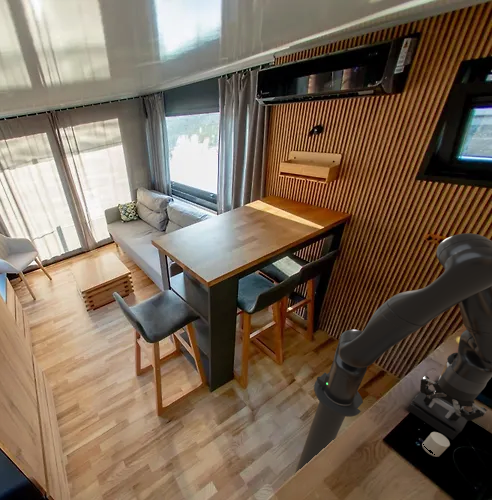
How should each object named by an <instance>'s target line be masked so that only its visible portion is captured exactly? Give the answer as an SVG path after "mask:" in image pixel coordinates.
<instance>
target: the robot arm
mask: <svg viewBox="0 0 492 500" xmlns="http://www.w3.org/2000/svg"><path fill="white" fill-rule="evenodd" d="M435 255H436V258H437V260H438V262H439V263H440V266H442V268H443V269H444V271H443V272H442V274H441V275H440V276H438V277H437V278H436V279H435V280H433V282H431V283H430V284H428V285H427V286H424V287H422V288H419V289H414V290H407V291H403V292H400V293H396V294H394V295H392V296H391V297H389V298H388V299H387V300H386V301H384V303H383V304H381V305H380V306H379V307H378V308H377V309H376V310H375V312H374V313H373V314H372V316H371V317H370V319H369V321H368V322H367V324H366V326H365V328H364V329H363V331H362V330H359V329H347V330H345V331H344V332H342V333H341V334H340V337H339V340H338V343H337V346H336V349H335V352H334V355H333V360H332V362H331V366H330V369H329V371H328V373H327V372H324V373H323V374H322V375H321V376H320V375H319V376H317V377H316V380H318V382H317V383H318V384H320V385H321V386H322V390H323V391H324V393H325V395H326V396H327V398H328V399H329V400H330V401H332V402H333V403H335V404H337V405H340V406H349V405H351V404H352V402H353V400H354V397H355V395H356V396H357V391H358V392H359V388H360V386H361V384H362V381H363V380H364V377H365V375H366V373H367V370H368V367H369V366H372V365H373V364H374V363H375V362H376V361H377V360H378V359H380V357H381V356H382V355H384V354H385V353H386V352H387V351H388V350H389V349H391V348H392V347H394V346H396V345H397V344H399V343H400V342H402V341H403V340H404V339H406V338H407V337H409V336H410V335H412V334H414V333H416V332H417V331H419V330H420V329H421V328H423V327H425V326H426V325H428V324H429V323H431V322H432V321H433V320H434V319H436V318H437V317H439V316H440V315H442V314H444V313H445V312H447V311H448V310H450V309H452V308H453V307H454V306H456V305H458V307H459V312H460V316H461V320H462V323H463V326H464V327H465V329H464V331H463V332H462V333H461V335H460V337H459V340H458V346H457V353H458V356H457V357H456V358H455V360H454V361H453V362H452V364H451V365H450V366H448V367H447V369H446V370H445V372H444V373H443V375H442V376H441V375H440V376H441V377H440V376H439V378H440V379H439V378H438V380H435V381H434V380H432V379H430V377H429V376H427V375H423V377H422V378H421V379H420V385H419V386H420V387H419V393H420V392H421V393H424V394H425V395H426V398H425V399H424V402H425V404H426V405H429V403H430V402H431V401H432V399H433V398H442V399H444V400H446V401H448V402H449V403H451V404H452V405H453V406H454V410H455V412H454V413H453V414H452V415H451V417H450V418H449V419H450V420H455V421H457V420H458V419H459V418H460V417H464V418H465V419H466V420H468V421H467V422H471V421H473V420H476V419H479V418H482V417H484V416H485V415H486V413H487V411H488V410H487V408H485V407H483V406H481V407H480V406H479V405H478V404H476V403H475V399H477V398H478V396H479V395H480V394H481V393H482V391H483V390H484V389H485V388H486V386H487V384H488V382H489V381H490V380H491V378H492V240H491V239H490V238H488V237H486V236H484V235H481V234H477V233H471V232H470V233H469V232H468V233H466V232H465V233H457V234H454V235H450V236H449V237H447V238H445V239H443V240H442V241H441V242H440V243H439V244H438V246H437V247H436V253H435ZM430 386H433V388H434V389H433V390H432V391H429V390H428V389H430V388H429V387H430ZM465 407H469V408H471V410H470V411H468V412H465V411H464V410H465Z"/></svg>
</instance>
